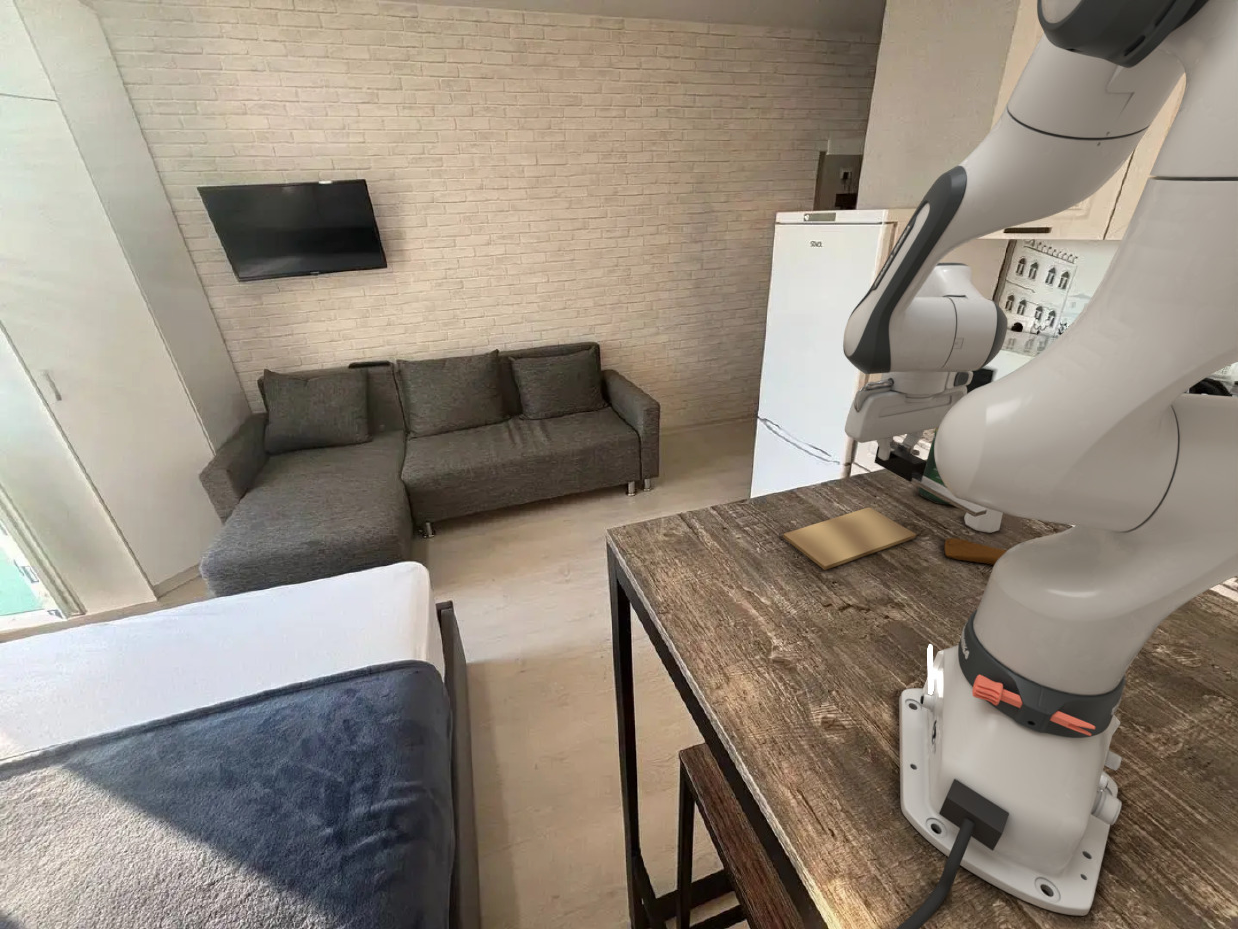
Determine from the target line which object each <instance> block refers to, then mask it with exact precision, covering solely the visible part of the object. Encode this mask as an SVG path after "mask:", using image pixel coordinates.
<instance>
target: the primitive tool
mask: <svg viewBox="0 0 1238 929" xmlns="http://www.w3.org/2000/svg"><path fill="white" fill-rule="evenodd" d="M1006 551H1008V549H1007V550H1006V549H1004V548H1003V549H1002V548H997V547H992V546H989V545H984V544H981V543H975V542H971V541H969V540H967V539H959V538H954V537H953V538H952V537H951V538H946V539H945V541H944V554H945V556H946V557H947V558H951V559H953V560H959V561H967V562H972V563H982V564H987V565H993V566H994V565H995V563H996V562H997V560H998V559H999V558H1000V557H1001V556H1002V555H1003V554H1004V553H1005V552H1006Z"/></svg>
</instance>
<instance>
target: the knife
mask: <svg viewBox="0 0 1238 929" xmlns="http://www.w3.org/2000/svg"><path fill="white" fill-rule="evenodd" d="M889 443H890V447H891V448H892V449H894V450H895V452H894V455H893V458H892V459H889V460H882V459H880V458H879V457H878V453H879V448H880V447H879V446H878V445H877V448H876V453H875V457H874V463H875V464H876V465H878V466H880V467H882V468H883V469H885V470H887V471H889V472H891V473H893V474H894V475H896V476H898V477H900V478H902V479H903V480H905V481H907V482H908V483H912V484H914V485H915V486H918V488H919V487H921V488H923V489H925V490H927V491H928V492H930V493H932V494H934V495H936V496H938V497H939V498H941V499H943V500H945V501H947V502H948V503H950V504H952V505H951V506H954V507H956V508H957V509H959V510H961V511H963V512H965V513H968V514H970V515H972V516H974V517H976V516H980V515H983V514H986V512H987V509H986V508H984V507H982V506H980V505H977V504H974V503H971V502H968V501H965V500H962V499H959V498H957V497H955V496H954V495H953V494H952V493H951V492H950V491H949V490H948V488H946V487H944V486H942V485H940V484H938V483H936V482H934V481H933V480H931V479H929V478H927V477H925V476H923V475H924V471H925V467H926V464H927V460H925V459H923V458H921V457H920V456H917V455H915V454H913V453H912V454H911V453H909V452H907V451H905V450H903V449H901V448H899V447H898V445H895V444H892V442H889Z"/></svg>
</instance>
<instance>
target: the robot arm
mask: <svg viewBox="0 0 1238 929" xmlns="http://www.w3.org/2000/svg"><path fill="white" fill-rule="evenodd" d="M1036 2H1037V3H1036V13H1037V14H1036V15H1037V19H1038V22H1039V25H1040V26H1041V29H1042V31H1043V33H1042V35H1041V37H1040V39H1039V40H1038V42H1037V44H1036V46H1035V47H1034V49H1033V51H1032V53H1031V54H1030V57H1029V59H1028V60H1027V62H1026V64H1025V66H1024V68H1023V69H1022V71H1021V73H1020V76H1019V78H1018V79H1017V82H1016V84H1015V86H1014V88H1013V90H1012V92H1011V94H1010V97H1009V98H1008V100H1007V103H1006V104H1005V107H1004V109H1003V110H1002V113H1001V114H1000V116H999V118H998V119H997V121H996V123H995V124H994V126H993V127H992V128H991V130H990V131H989V132H988V133H987V134H986V136H985V137H984V139H982V141H981V142H980V143H979V144H978V145H977V146H976V148H975V149H973V150H972V152H971V153H970V154H969V155H967V156H966V158H964V159H963V160H962V161H961V162H960V163H959V164H958V165H956V166H953V168H951V169H949V170H947V171H945V172H944V173H942V174H941V175H939V176H938V177H937V179H936V180H935V181H934V182H933V184H932V185H931V186H930V188H929V189H928V191H927V192H926V193H925V195H924V197H923V198H922V199H921V201H920V203H919V205H918V206H917V208H916V209H915V211H914V212H913V214H912V215H911V217H910V219H909V221H908V222H907V223H906V225H905V227H904V229H903V231H902V232H901V234H900V236H899V238H898V240H897V241H896V242H895V245H894V246H893V248H892V250H891V251H890V253H889V255H888V257H887V258H886V260H885V262H884V264H883V266H881V269H880V271H879V272H878V274H877V275H876V278H874V281H873V283H872V285H871V287H870V288H869V289H868V291H867V292H866V294H864V296H862V299H861V300H860V301H859V302H858V303H857V305H856V306H855V307H854V308H853V310H852V312H851V313H850V314H849V318H848V320H847V322H846V325H845V328H844V333H843V342H842V348H843V350H842V351H843V355H844V357H846V358H845V359H847V360H848V362H850V363H851V364H852V366H854V367H855V368H856V369H857V370H858V371H860V372H861V373H862V374H864V375H877V374H881V376H880V380H878V381H877V380H876V381H868V382H866V383H865V384H864V385H863V386H862V387H861V388H860V389H859V390H857V391H856V393H855V396H854V397H853V401H852V402H851V405H850V408H849V411H848V414H847V417H846V421H845V424H844V433H845V435H846V436H847V437H848V438H849V439H851V440H854V441H855V442H857V443H860V444H863V443H864V444H865V443H869V442H875V441H876V443H877V447H878V446H879V447H880V448H879V453H878V457H879V458H880V459H882V460H889V459H892V458H893V455H894V452H895V450H894V449H892V448H891V447H890V443H892V442H893V441H894V437H898V436H904V435H905V437H904V439H903V441H902V442H899V443H898V444H897V447H899V448H901V449H903V450H905V451H907V452H909V453H911V454H913V452H914V448H915V446H916V445H917V444H918V443H919V441H920V440H921V439H922V437H923V436H924V432H925V431H927V430H928V431H929V430H933V429H934V430H935V429H936V428H938V431H937V434H936V438H935V444H934V457H935V463H936V467H937V470H938V473H939V475H940V477H941V479H942V481H943V483H944V484H945V485H946V487H947V488H948V490H949V491H950V492H951V493H952V494H953V495H954V496H955V497H957V498H959V499H962V500H965V501H968V502H971V503H974V504H977V505H980V506H983V507H985V508H989V509H992V510H995V511H999V512H1002V513H1003V514H1006V515H1009V516H1012V517H1015V518H1022V519H1029V520H1033V521H1034V520H1035V521H1041V522H1048V523H1053V524H1054V523H1055V524H1062V525H1068V526H1072V527H1070V528H1068V529H1066V530H1063V531H1060V532H1057V533H1053V534H1049V535H1046V536H1040V537H1036V538H1032V539H1029V540H1025V541H1023V542H1020V543H1017V544H1016V545H1014V546H1012V547H1010V548H1009V549H1007V551H1006V552H1005V553H1004V554H1003V555H1002V556H1001V557H1000V558H999V559H998V560H997V562H996V563H995V565H993V566H992V570H991V572H990V575H989V577H988V580H987V583H986V586H985V588H984V591H983V594H982V597H981V599H980V601H979V605H978V607H977V608H976V609H975V610H974V611H972V613H971V614H970V615H969V617H968V619H967V620H966V622H965V624H964V625H963V628H962V631H961V635H960V639H959V642H958V644H956V645H954V646H951V647H948V648H944V649H942V650H939V651H937V653H936V655H935V657H934V656H933V655H934V654H933V645H932V644H931V643H930V644H928V647H927V650H926V651H927V676H926V677H927V678H926V680H925V682H924V685H923V687H922V688H921V687H920V688H919V687H918V688H917V687H916V688H906V689H904V690H903V691H901V694H900V695H899V697H898V716H899V717H898V718H899V720H898V721H899V724H898V725H899V726H898V727H899V728H898V729H899V790H900V791H899V792H900V793H899V795H900V797H899V798H900V809H901V813H902V814H903V816H904V817H905V818H906V820H907V821H908V822H909V823H910V825H911V826H912V827H913V828H914V829H915V830H916V831H917V832H918V833H919V834H920V835H921V836H922V837H923V838H924V839H925V840H926V841H928V842H929V844H931V845H932V846H933V847H935V849H937V850H938V851H939V852H941V853H942V854H944V855H945V856H946V857H947V859H946V862H945V863H944V866H943V870H942V873H941V876H940V879H939V881H938V883H937V884H936V886H935V887H934V888H933V890H932V892H931V893H930V895H929V896H928V897H927V898H926V899H925V901H924V902H923V903H922V904H921V905H920V906H919V907H918V909H916V910H915V911H914V912H913V913H912V914H911V915H909V917H908V918H907V919H905V920H904V921H903V922H902V923H901V924H899V925H898V926H897V927H896V928H895V929H920V928H921V927H922V926H923V925H924V924H925V923H926V922H927V921H928V920H929V919H930V918H931V917H932V916H933V915H934V914H935V912H937V910H938V909H939V907H940V906H941V905H942V904H943V902H944V900H945V899H946V898H947V896H948V895H949V893H950V891H951V889H952V887H953V884H954V882H955V880H956V876H957V874H958V871H959V868H960V866H961V867H962V868H964V869H966V871H968V872H970V873H972V874H974V875H975V876H977V877H979V878H980V879H982V880H984V881H986V882H987V883H989V884H991V885H992V886H994V887H996V888H998V889H999V890H1002V891H1003V892H1006V893H1007V894H1009V895H1011V896H1013V897H1015V898H1018V899H1020V900H1022V901H1024V902H1026V903H1029V904H1032V905H1033V906H1036V907H1038V908H1041V909H1044V910H1046V911H1047V910H1048V911H1050V912H1053V913H1058V914H1063V915H1068V916H1082V917H1083V916H1087V915H1088V914H1089V912H1090V910H1091V908H1092V905H1093V902H1094V899H1095V894H1096V890H1097V885H1098V881H1099V877H1100V871H1101V868H1102V864H1103V858H1104V855H1105V850H1106V844H1107V841H1108V837H1109V832H1110V828H1111V826H1113V825H1114V824H1115V823H1116V822H1117V820H1118V818H1119V816H1120V813H1121V809H1122V800H1120V799H1119V798H1118V793H1119V787H1118V785H1117V783H1116V781H1115V780H1114V779H1113V778H1112V777H1111V776H1110V775H1109V774H1108V773H1106V771H1104V768H1105V767H1106V768H1109V769H1111V770H1113V771H1118V769H1119V768H1120V766H1121V763H1122V760H1123V758H1122V756H1121V755H1119V754H1118V753H1115V752H1113V751H1111V750H1110V745H1111V742H1112V738H1113V735H1114V734H1115V733H1116V731H1117V730H1118V728H1119V726H1120V725H1121V720H1119V719H1118V718H1117V715H1116V714H1115V713H1116V712H1117V711H1118V709H1119V706H1120V704H1121V702H1122V698H1123V695H1124V694H1123V692H1124V690H1125V689H1124V688H1125V687H1126V681H1127V680H1126V678H1127V677H1126V673H1127V671H1128V670H1129V668H1130V667H1131V665H1132V663H1133V662H1134V661H1135V659H1136V657H1137V656H1138V654H1139V653H1140V652H1141V650H1142V649H1143V647H1144V646H1145V645H1146V643H1147V641H1148V640H1149V639H1150V638H1151V636H1152V635H1153V634H1154V632H1155V631H1156V629H1157V628H1158V627H1159V626H1160V625H1161V624H1162V623H1163V622H1164V621H1165V620H1166V619H1167V618H1168V617H1169V616H1170V615H1172V614H1173V613H1174V612H1176V610H1178V609H1179V608H1181V607H1182V606H1183V605H1185V604H1186V603H1189V602H1190V601H1192V600H1193V599H1195V598H1196V597H1198V596H1200V595H1201V594H1203V593H1205V592H1207V591H1209V590H1211V589H1213V588H1215V587H1216V586H1219V585H1221V584H1223V583H1224V582H1227V581H1229V580H1231V579H1233V578H1236V577H1237V576H1238V396H1227V395H1214V394H1201V393H1186V392H1187V391H1189V389H1191V388H1192V387H1193V386H1195V385H1197V384H1198V383H1199V382H1201V381H1203V380H1204V379H1206V378H1207V377H1209V376H1211V375H1213V374H1215V373H1217V372H1218V371H1221V370H1223V369H1225V368H1227V367H1229V366H1231V365H1234V364H1236V363H1238V0H1036ZM1184 74H1185V88H1184V92H1183V95H1182V98H1181V102H1180V104H1179V108H1178V110H1177V112H1176V115H1175V116H1174V119H1173V121H1172V123H1171V125H1170V128H1169V130H1168V132H1167V134H1166V136H1165V138H1164V140H1163V143H1162V145H1161V147H1160V149H1159V151H1158V153H1157V156H1156V158H1155V160H1154V163H1153V164H1152V168H1151V170H1150V172H1149V176H1150V177H1148V178H1147V179H1146V182H1145V185H1144V187H1143V190H1142V192H1141V195H1140V196H1139V199H1138V201H1137V203H1136V206H1135V208H1134V210H1133V213H1132V216H1131V218H1130V220H1129V222H1128V224H1127V226H1126V229H1125V231H1124V233H1123V236H1122V238H1121V240H1120V242H1119V244H1118V246H1117V248H1116V250H1115V252H1114V254H1113V257H1112V259H1111V261H1110V263H1109V265H1108V267H1107V269H1106V271H1105V273H1104V275H1103V277H1102V279H1101V281H1100V282H1099V284H1098V286H1097V287H1096V290H1095V292H1094V293H1093V295H1092V296H1091V298H1090V300H1089V301H1088V303H1086V305H1085V306H1084V308H1083V309H1082V310H1081V312H1080V313H1079V314H1078V316H1077V317H1076V318H1075V319H1074V320H1073V321H1072V323H1070V324H1069V325H1068V327H1067V328H1066V329H1065V330H1064V331H1063V332H1062V333H1061V334H1060V335H1059V336H1057V338H1055V339H1054V341H1053V342H1052V343H1050V344H1049V345H1048V346H1047V347H1046V348H1044V349H1043V350H1042V351H1041V352H1039V353H1038V354H1037V355H1035V356H1034V357H1033V358H1031V359H1030V360H1028V361H1027V362H1026V363H1024V364H1023V365H1021V366H1019V367H1018V368H1016V369H1014V370H1013V371H1011V372H1009V373H1007V374H1005V375H1003V376H1002V377H999V378H998V379H996V380H993V381H991V382H989V383H987V384H984V385H981V386H979V387H976V388H974V389H973V390H971V391H969V392H968V388H967V386H968V385H970V384H971V382H972V380H973V376H974V371H976V372H977V371H979V370H981V369H983V368H984V367H986V366H987V365H989V363H991V362H992V361H993V360H995V358H996V357H997V356H998V354H999V353H1000V351H1001V350H1002V347H1003V345H1004V343H1005V340H1006V336H1007V331H1008V324H1009V323H1008V317H1007V315H1006V313H1005V312H1004V310H1003V309H1002V307H1001V306H1000V305H999V304H998V303H997V302H996V301H994V300H993V299H990V298H986V297H985V296H984V295H982V293H980V292H979V291H978V289H977V288H976V287H975V285H974V283H973V269H972V267H971V266H970V265H969V264H966V263H963V262H962V263H961V262H941V261H942V260H943V259H944V258H945V257H946V256H948V255H950V253H952V252H953V251H954V250H956V249H958V248H960V247H961V246H964V245H966V244H968V243H970V242H972V241H974V240H977V239H979V238H982V237H985V236H988V235H991V234H994V233H997V232H1001V231H1003V230H1006V229H1010V228H1013V227H1017V226H1021V225H1024V224H1027V223H1032V222H1035V221H1040V220H1043V219H1046V218H1049V217H1052V216H1055V215H1057V214H1060V213H1062V212H1064V211H1067V210H1069V209H1071V208H1072V207H1075V206H1076V205H1079V204H1080V203H1082V202H1083V201H1085V200H1087V199H1088V198H1090V197H1092V196H1093V195H1095V194H1096V193H1097V192H1098V191H1099V190H1100V189H1101V188H1102V187H1104V186H1105V185H1106V183H1108V182H1109V181H1110V180H1111V179H1112V177H1114V176H1115V175H1116V173H1117V172H1118V171H1119V170H1120V169H1121V168H1122V167H1123V165H1124V164H1126V161H1127V160H1128V159H1129V157H1130V156H1131V155H1132V154H1133V152H1134V151H1135V149H1136V148H1137V146H1138V144H1139V143H1140V142H1141V140H1142V139H1143V137H1144V136H1145V135H1146V133H1147V131H1148V130H1149V128H1150V127H1151V125H1152V124H1153V122H1154V121H1155V120H1156V118H1157V116H1158V115H1159V113H1160V112H1161V110H1162V109H1163V107H1164V106H1165V104H1166V102H1167V101H1168V99H1169V97H1170V96H1171V94H1172V93H1173V92H1174V90H1175V88H1176V86H1177V85H1178V84H1179V82H1180V80H1181V78H1182V77H1183V75H1184ZM933 829H934V830H936V831H937V832H938V833H936V832H935V831H934V830H933ZM1044 891H1045V892H1046V893H1047V894H1048V895H1047V894H1046V893H1045V892H1044Z"/></svg>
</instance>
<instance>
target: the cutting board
mask: <svg viewBox="0 0 1238 929" xmlns="http://www.w3.org/2000/svg"><path fill="white" fill-rule="evenodd" d="M916 536H917V534H916V533H915V532H913V531H911V530H909V529H908V528H906V527H904V526H902V525H901V524H899V523H898V522H896V521H895V520H892V519H890V518H889V517H888V516H885V515H884V514H883V513H881V512H879V511H877V510H875V509H873V508H872V507H871V506H868V507H865V508H862V509H858V510H855V511H852V512H848V513H846V514H843V515H839V516H836V517H832V518H830V519H826V520H823V521H819V522H816V523H814V524H810V525H807V526H804V527H801V528H797V529H795V530H791V531H787V532H784V533H783V534H782V538H783V539H784V540H785V541H787V542H788V543H789V544H791V545H792V546H793V547H794V548H796V550H798V551H799V552H800V553H802V554H803V555H804V556H806V557H807V558H808V559H809V560H811V561H812V562H814V563H815V564H816V565H817V566H818V567H820V568H821V569H822V570H824V571H826V570H829V569H832V568H834V567H837V566H840V565H843V564H846V563H849V562H852V561H855V560H857V559H860V558H863V557H865V556H868V555H871V554H874V553H878V552H880V551H883V550H885V549H889V548H892V547H894V546H897V545H900V544H902V543H905V542H908V541H911V540H913V539H916Z"/></svg>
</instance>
